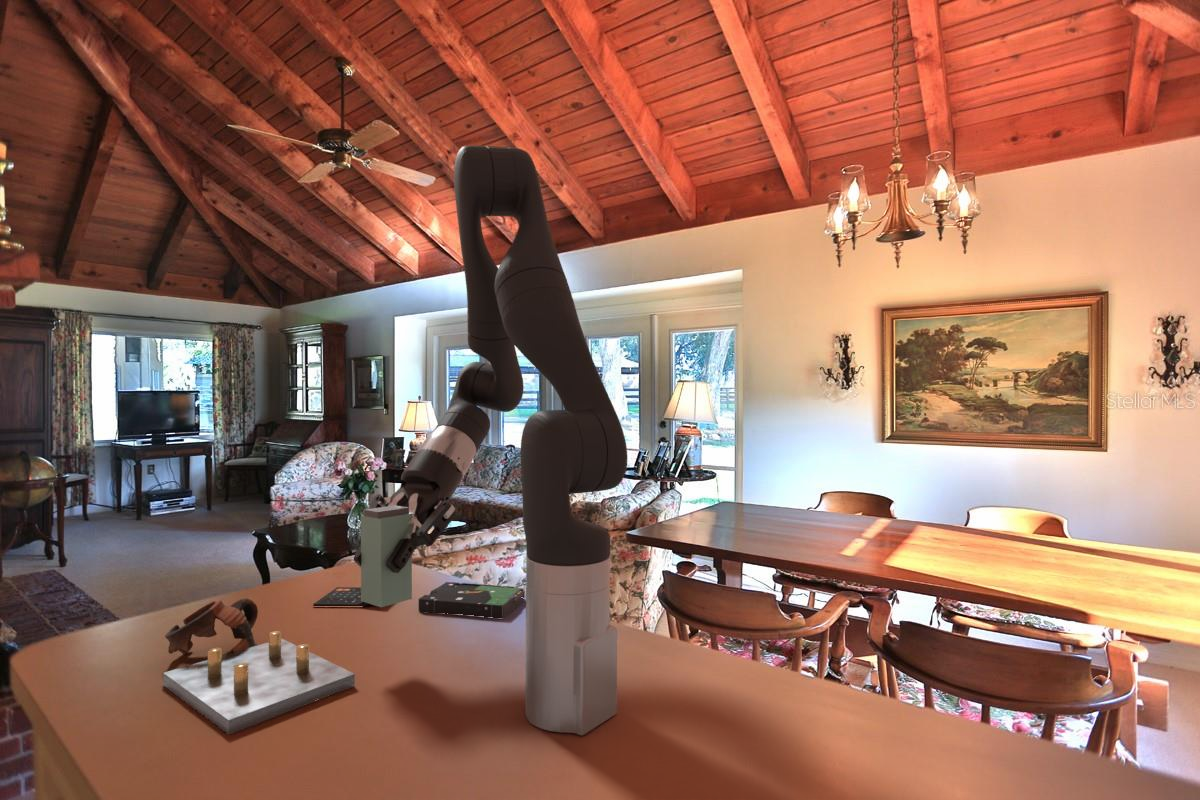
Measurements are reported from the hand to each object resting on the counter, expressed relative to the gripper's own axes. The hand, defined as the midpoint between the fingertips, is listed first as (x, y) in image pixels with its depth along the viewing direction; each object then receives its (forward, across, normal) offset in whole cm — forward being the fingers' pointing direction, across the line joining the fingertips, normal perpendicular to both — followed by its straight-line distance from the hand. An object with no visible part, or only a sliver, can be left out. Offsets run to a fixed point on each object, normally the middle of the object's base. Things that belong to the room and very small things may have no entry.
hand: (375, 566), depth 80 cm
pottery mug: (+14, -22, +5) cm, 27 cm away
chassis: (+16, -9, +2) cm, 18 cm away
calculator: (-4, -25, +23) cm, 34 cm away
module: (+2, 0, +5) cm, 5 cm away
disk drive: (-9, -6, +28) cm, 30 cm away
